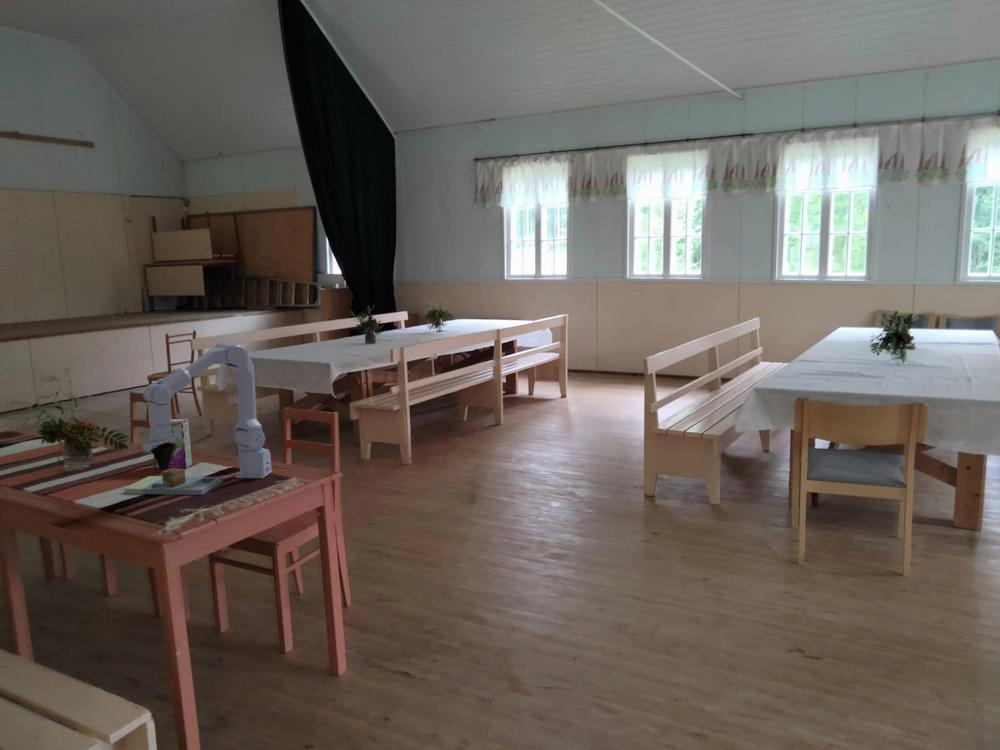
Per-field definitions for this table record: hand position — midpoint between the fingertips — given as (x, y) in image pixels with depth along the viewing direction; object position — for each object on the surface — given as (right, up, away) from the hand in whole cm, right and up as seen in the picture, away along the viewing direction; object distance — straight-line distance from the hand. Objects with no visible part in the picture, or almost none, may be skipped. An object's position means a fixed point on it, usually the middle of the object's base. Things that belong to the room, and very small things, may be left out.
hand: (164, 468), depth 222 cm
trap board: (-1, -7, +10) cm, 12 cm away
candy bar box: (-12, -4, +34) cm, 36 cm away
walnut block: (0, -6, +8) cm, 10 cm away
